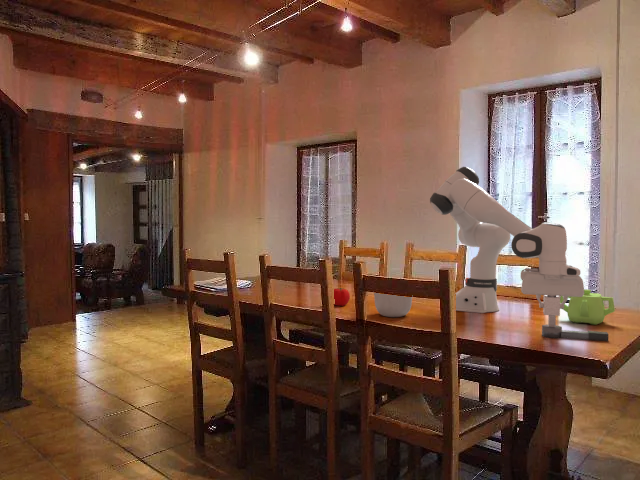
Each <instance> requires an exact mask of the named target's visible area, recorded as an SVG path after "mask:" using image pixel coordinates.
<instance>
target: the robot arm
mask: <svg viewBox="0 0 640 480" xmlns="http://www.w3.org/2000/svg"><path fill="white" fill-rule="evenodd" d="M479 184H480V177H479V176H478V175H477V172H476V171H475V170H473V169H472V168H470V167H468V166H461V167H460V168H458V169H457V170H456V171H455V172H454V173H452V174H451V175H450V176H449V177H448V178H446V179H445V180H444V182H443V183H442V184H441V185H440V186H439V187H438V188H437V190H436V191H434V192H433V193H432V194H431V196H430V198H429V203H430V205H431V207H432V209H433V210H434V211H435V212H437V213H439V214H440V215H445V216H446V215H449V214H450V216H451V217H452V218H453V219H454V221H455V222H456V224H457V225H458V227H459V230H458V240H459V242H460V243H461V244H462V245H465V246H469V247H471V248H479V249H478V252H477V254H476V256H474V257H473V258H472V259H471V260H470V264H469V265H470V266H469V267H470V270H469V272H470V273H469V276H470V277H466V278H465V279H464V281H465V286H464V287H462V288H460V289H459V290H457V292H455V294H456V310H455V311H459V312H466V313H468V312H469V313H477V314H478V313H480V314H484V313H492V312H493V313H494V312H499V311H500V308H499V304H498V298H497V290H498V281H497V280H498V279H497V263H498V258H499V255H500V254H501V252H502V250H503V248H505V247H506V246H507V245H508V244H509V242H510V240H511V236H513V238H512V240H511V244H510V245H511V250H512V252H513V253H514V255H516V257H518V258H522V259H532V258H536V259H538V267H537V268H535V267H533V268H529V267H526V268H524V269H521V271H520V280H521V281H522V282H521V288H520V289H521V293H522V294H524V295H535V296H536V300H537V301H538V305H539V308H541V309H544V301H541V299H540V298H542V297H541V296H544V295H552V296H559V297H561V296H563V299H564V300H563V302H562V303H560V310H563V309H564V304H565V305H566V302H567V301H568V300H569V298H568V296H571V297H582V296H583V295H584V289H585V285H584V284H585V283H584V280H583V279H582V277H581V269H579V268H577V267H575V266H572V265H568V264H567V257H566V251H567V249H568V241H567V240H568V239H567V230H566V227H565V226H563V225H562V224H559V223H555V222H554V223H553V222H546V221H545V222H542V223H541V224H540V225H538V226H536V227H534V228H532V227H531V226H530V225H527V224H526V223H525V222H523V221H522V220H521V219H520V218H518V217H516V216H515V215H514V214H512V213H511V212H510V211H508V210H507V209H506V208H505V207H504V206H503V205H501V204H500V203H499V202H498V201H497V199H496V198H494V197H493V196H492V195H491V194H490V193H488V192H487V191H486V190H485V189H484V188H482V187H481V186H480V185H479Z"/></svg>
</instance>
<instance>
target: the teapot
mask: <svg viewBox="0 0 640 480" xmlns="http://www.w3.org/2000/svg"><path fill="white" fill-rule="evenodd" d="M559 297H560V303H562V302H563V300H564V299H563V296H559ZM568 299H569V301H568V305H567V304H566V303H565V304H564V309H562V310H563V311H565V312H566V314H567V317H568V319H569V321H570V322H573V323H575V324H580V323H585V324H590V325H593V326H594V325H596V326H597V325H598V324H601V323H602V322H604V319H605V318H606V316H608V315H609V314H612V313H614V312H615V311H616V308H615V301H614V297H613V296H612V297H609V296H602V294H601V293H597V292H596V293H593V292H592V290H591V289H586V288H584V295H583V296H582V297H571V296H568ZM604 301H605V302H607V301H608V308H605V304H604Z"/></svg>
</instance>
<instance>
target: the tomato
mask: <svg viewBox="0 0 640 480" xmlns="http://www.w3.org/2000/svg"><path fill="white" fill-rule="evenodd" d="M333 289H334V299H335V305H334V306H338V307H340V306H341V307H343V306H346V305H347V304H348V303H349V301H350V299H351V295H350V291H348V290H347V288H342V287H338V288H337V287H335V288H333Z"/></svg>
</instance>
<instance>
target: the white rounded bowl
mask: <svg viewBox="0 0 640 480" xmlns="http://www.w3.org/2000/svg"><path fill="white" fill-rule="evenodd" d="M373 295H374V297H373V298H374V306H375V309H376V311H377V312H378V313H379V314H380V315H381V316H383V317H387V318H399V317H404V316H406V315H407V314H409V312H410V311H411V308H412V305H413V296H412V297H404V296H396V295H387V294H379V293H374V292H373Z"/></svg>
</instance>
